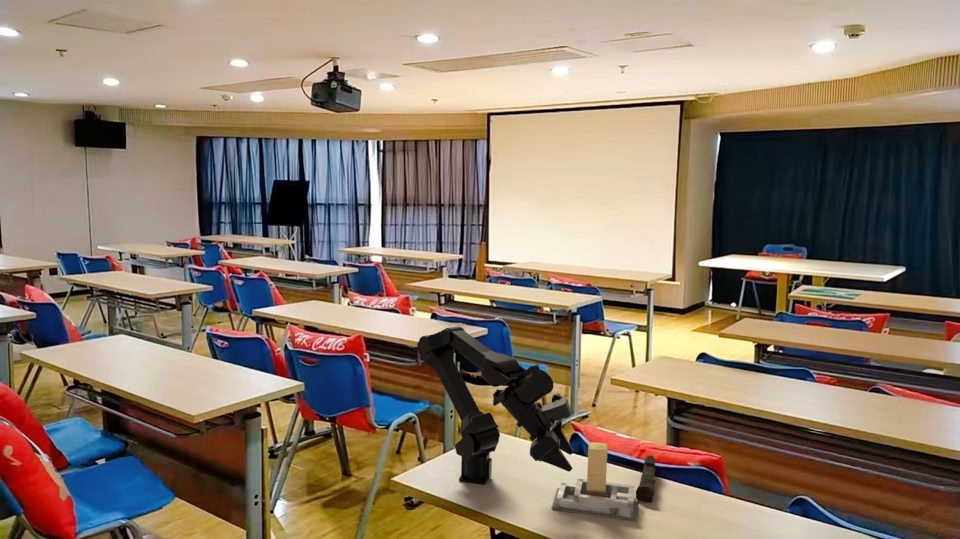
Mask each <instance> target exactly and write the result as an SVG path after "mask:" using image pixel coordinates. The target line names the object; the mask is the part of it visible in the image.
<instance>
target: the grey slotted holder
mask: <svg viewBox="0 0 960 539" xmlns="http://www.w3.org/2000/svg"><path fill="white" fill-rule="evenodd" d="M558 488H559V492H558V495H557V498H556V507H563V508H570V509H577V510H585V511H592V512H599V513H606V514H613V515H615V508H618V509H626V510H633V505H634V498H635V485H629V484H621V483H616V482H607V481H606V490H605V497H598V496H591V495H586V491H587V479H585V478H584V479H583V478H577V480H576V484H575V483H574V484H572V483H567V482H566V483H565V482H561V483H560V486H559V487H558ZM565 492H570V493H574V498H573V500H571V499H564V496H565ZM618 493H620V494H626V495H627V497H628V500H621V499H616V498H617V496H618ZM583 494H585V495H583ZM606 497H607V498H606Z"/></svg>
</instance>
